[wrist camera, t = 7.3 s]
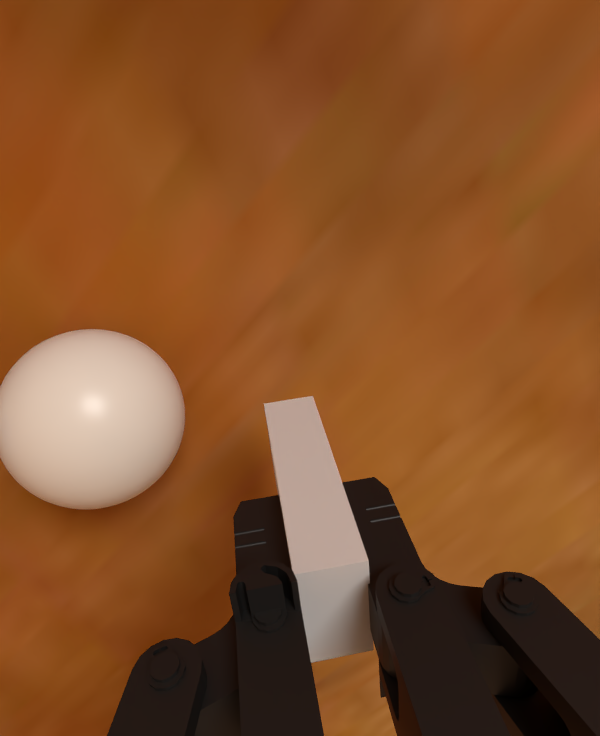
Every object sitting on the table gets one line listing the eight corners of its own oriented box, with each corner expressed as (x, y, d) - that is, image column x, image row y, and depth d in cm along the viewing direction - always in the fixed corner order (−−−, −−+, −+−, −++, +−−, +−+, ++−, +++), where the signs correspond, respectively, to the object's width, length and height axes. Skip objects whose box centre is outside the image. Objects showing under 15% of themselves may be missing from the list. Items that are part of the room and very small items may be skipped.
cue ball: (27, 577, 15) (34, 465, 19) (218, 508, 16) (183, 420, 21) (-58, 412, 12) (-27, 328, 17) (179, 349, 14) (149, 288, 18)
